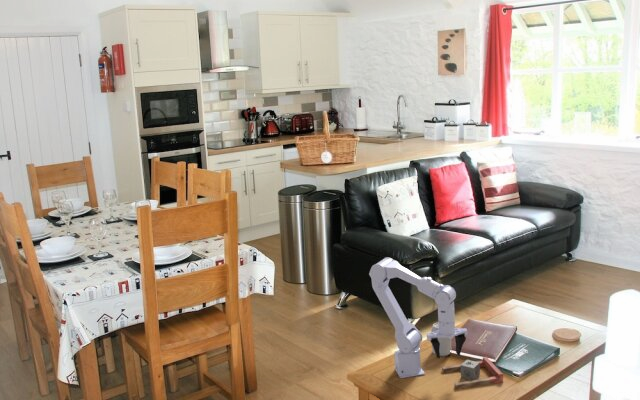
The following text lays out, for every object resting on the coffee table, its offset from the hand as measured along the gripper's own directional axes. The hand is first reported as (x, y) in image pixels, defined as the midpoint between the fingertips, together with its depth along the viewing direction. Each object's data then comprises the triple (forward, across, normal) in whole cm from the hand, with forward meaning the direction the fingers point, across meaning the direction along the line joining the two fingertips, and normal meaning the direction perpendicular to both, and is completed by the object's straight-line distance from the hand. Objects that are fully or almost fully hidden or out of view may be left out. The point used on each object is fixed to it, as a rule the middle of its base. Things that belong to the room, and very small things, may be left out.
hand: (448, 355), depth 220 cm
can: (+10, +5, +21) cm, 24 cm away
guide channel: (+9, +8, 0) cm, 12 cm away
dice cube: (+10, +8, 0) cm, 13 cm away
